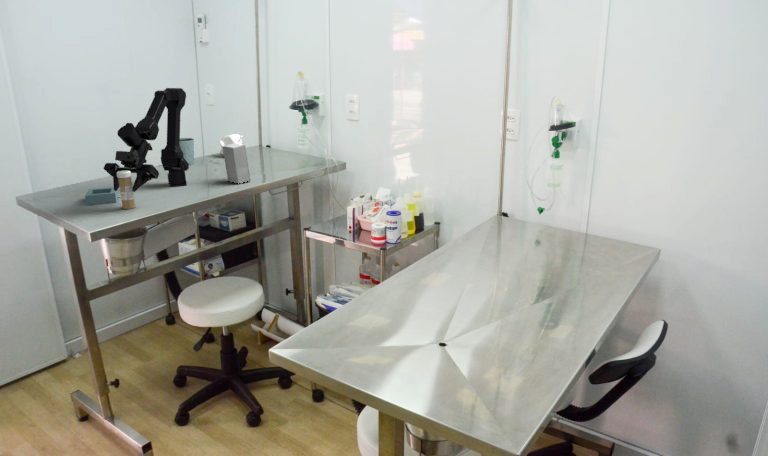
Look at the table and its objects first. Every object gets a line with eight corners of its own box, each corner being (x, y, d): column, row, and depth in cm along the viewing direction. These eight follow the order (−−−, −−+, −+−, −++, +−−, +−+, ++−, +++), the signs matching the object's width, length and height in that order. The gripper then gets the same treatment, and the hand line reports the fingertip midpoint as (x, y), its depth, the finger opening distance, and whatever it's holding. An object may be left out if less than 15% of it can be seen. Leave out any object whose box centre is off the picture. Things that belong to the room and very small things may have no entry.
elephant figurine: (240, 161, 290) (231, 141, 291) (256, 147, 277) (247, 126, 278) (219, 165, 282) (210, 144, 282) (235, 151, 269) (226, 129, 269)
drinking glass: (170, 165, 264) (166, 140, 260) (181, 161, 273) (178, 137, 269) (189, 166, 262) (186, 141, 258) (200, 162, 271) (197, 138, 267)
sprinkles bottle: (120, 207, 199) (114, 171, 195) (132, 205, 202) (126, 169, 198) (126, 210, 196) (120, 173, 192) (138, 207, 200) (132, 171, 195)
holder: (118, 195, 215) (117, 186, 214) (116, 202, 206) (114, 193, 205) (90, 197, 212) (88, 189, 210) (86, 204, 203) (84, 195, 201)
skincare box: (251, 181, 234) (248, 144, 229) (236, 185, 230) (233, 147, 224) (239, 178, 240) (236, 142, 235) (225, 181, 235) (221, 144, 230)
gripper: (102, 140, 197) (86, 178, 190) (149, 142, 194) (136, 180, 187) (119, 157, 207) (105, 194, 200) (165, 159, 204) (152, 196, 197)
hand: (124, 190), depth 196 cm, fingers open, 7 cm apart
